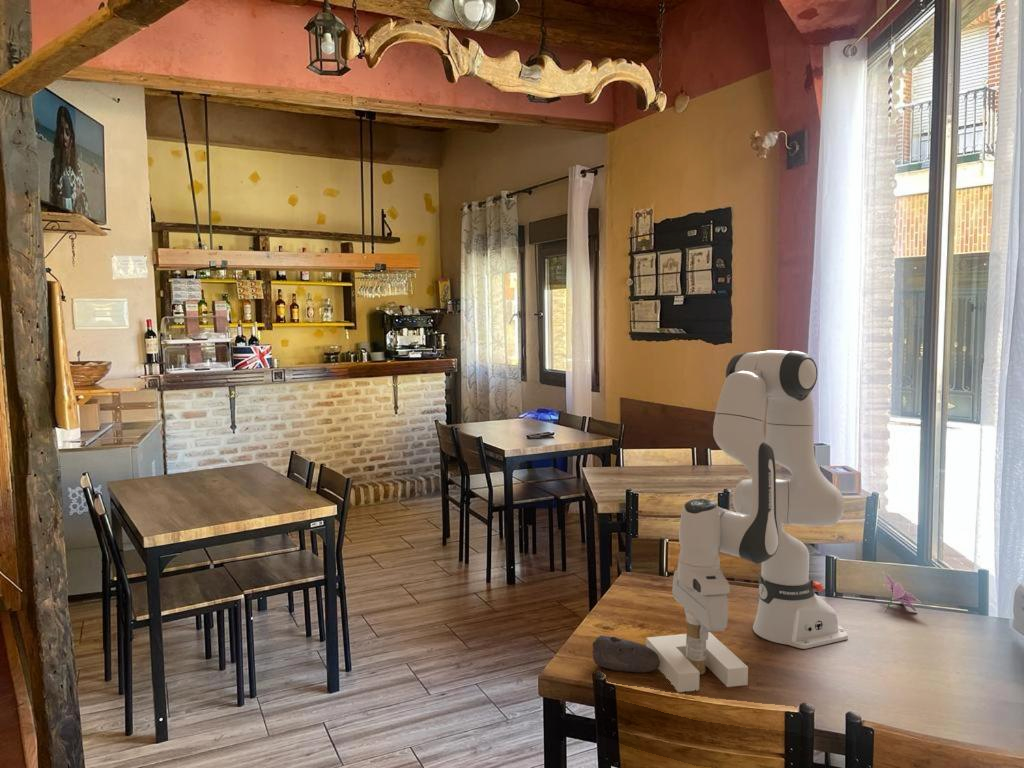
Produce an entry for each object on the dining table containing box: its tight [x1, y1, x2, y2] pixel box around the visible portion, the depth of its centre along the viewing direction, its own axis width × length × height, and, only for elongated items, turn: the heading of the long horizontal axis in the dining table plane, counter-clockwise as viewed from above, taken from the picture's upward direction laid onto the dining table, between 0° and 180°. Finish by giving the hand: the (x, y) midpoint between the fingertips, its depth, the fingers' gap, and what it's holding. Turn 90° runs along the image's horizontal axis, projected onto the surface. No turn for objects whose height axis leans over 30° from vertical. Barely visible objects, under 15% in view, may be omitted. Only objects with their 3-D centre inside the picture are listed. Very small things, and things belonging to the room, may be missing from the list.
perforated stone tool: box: [592, 635, 660, 674], centre depth 162 cm, size 15×5×7 cm, turn 71°
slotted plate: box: [645, 631, 749, 693], centre depth 163 cm, size 16×18×4 cm
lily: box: [881, 570, 922, 612], centre depth 195 cm, size 12×12×10 cm
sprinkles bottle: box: [685, 611, 707, 675], centre depth 161 cm, size 5×5×13 cm
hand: (697, 633), depth 161 cm, fingers closed on sprinkles bottle, 4 cm apart
